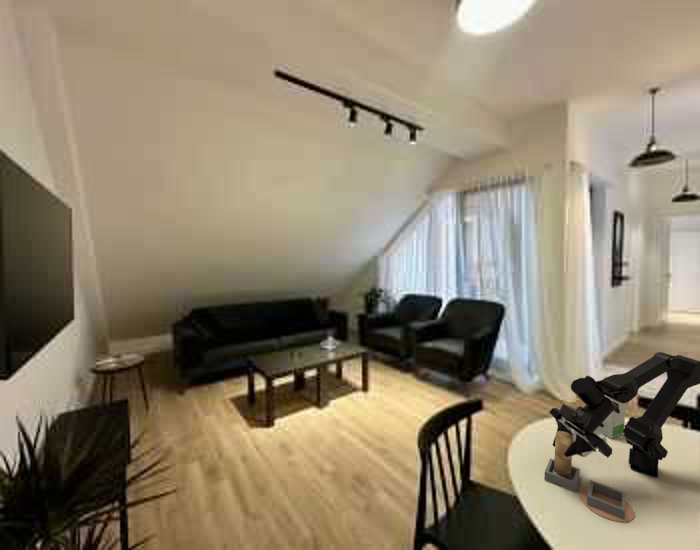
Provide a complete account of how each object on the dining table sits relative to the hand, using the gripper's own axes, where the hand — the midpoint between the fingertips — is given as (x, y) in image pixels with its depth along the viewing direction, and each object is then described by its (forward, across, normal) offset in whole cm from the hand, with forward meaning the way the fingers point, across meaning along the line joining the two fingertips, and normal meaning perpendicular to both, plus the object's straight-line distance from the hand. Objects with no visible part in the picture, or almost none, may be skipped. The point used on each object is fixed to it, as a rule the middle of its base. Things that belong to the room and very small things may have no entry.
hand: (559, 450), depth 102 cm
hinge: (-9, -14, +22) cm, 28 cm away
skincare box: (-19, -19, +32) cm, 42 cm away
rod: (+4, 0, +6) cm, 7 cm away
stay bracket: (+2, +11, +10) cm, 15 cm away
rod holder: (+5, 0, +7) cm, 9 cm away
